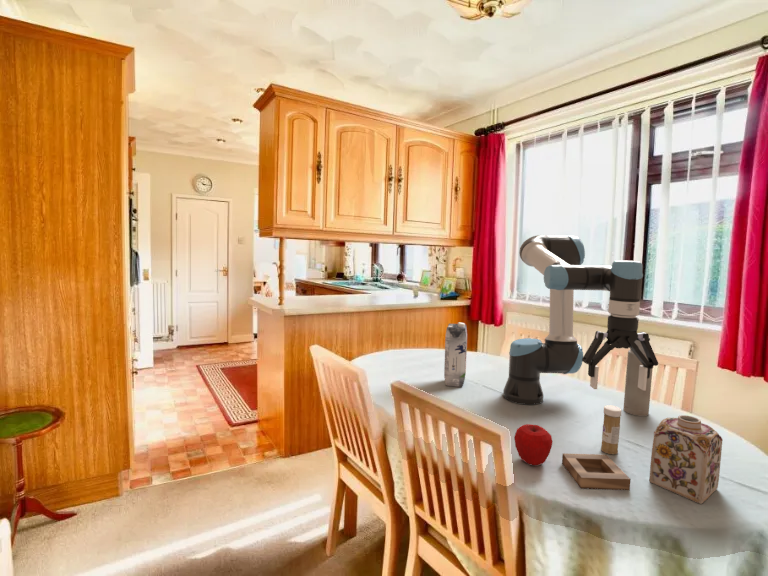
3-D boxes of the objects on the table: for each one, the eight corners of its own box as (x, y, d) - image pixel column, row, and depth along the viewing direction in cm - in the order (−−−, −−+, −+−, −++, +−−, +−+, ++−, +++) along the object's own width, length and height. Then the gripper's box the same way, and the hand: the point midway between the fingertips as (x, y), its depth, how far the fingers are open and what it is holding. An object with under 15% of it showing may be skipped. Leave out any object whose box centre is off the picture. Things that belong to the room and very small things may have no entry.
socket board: (561, 463, 116) (562, 453, 115) (605, 465, 115) (606, 454, 115) (580, 488, 104) (581, 477, 103) (629, 490, 103) (630, 479, 103)
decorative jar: (702, 506, 98) (709, 433, 96) (647, 482, 107) (653, 415, 105) (719, 489, 105) (726, 420, 103) (666, 468, 114) (672, 405, 112)
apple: (507, 462, 116) (509, 424, 115) (523, 450, 123) (525, 415, 122) (541, 476, 109) (543, 436, 108) (556, 463, 116) (559, 426, 115)
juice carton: (443, 386, 177) (445, 324, 174) (445, 378, 187) (447, 319, 184) (464, 388, 175) (466, 325, 172) (465, 380, 185) (467, 320, 182)
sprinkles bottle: (597, 447, 125) (600, 404, 124) (611, 447, 125) (615, 404, 124) (607, 455, 120) (610, 410, 119) (621, 454, 121) (625, 410, 119)
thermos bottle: (620, 406, 158) (626, 334, 155) (644, 408, 156) (650, 335, 153) (626, 414, 150) (633, 338, 147) (651, 417, 148) (658, 340, 145)
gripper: (584, 316, 114) (579, 391, 116) (677, 318, 113) (670, 394, 115) (572, 312, 121) (568, 382, 123) (660, 314, 120) (653, 384, 123)
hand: (617, 388), depth 119 cm, fingers open, 13 cm apart
